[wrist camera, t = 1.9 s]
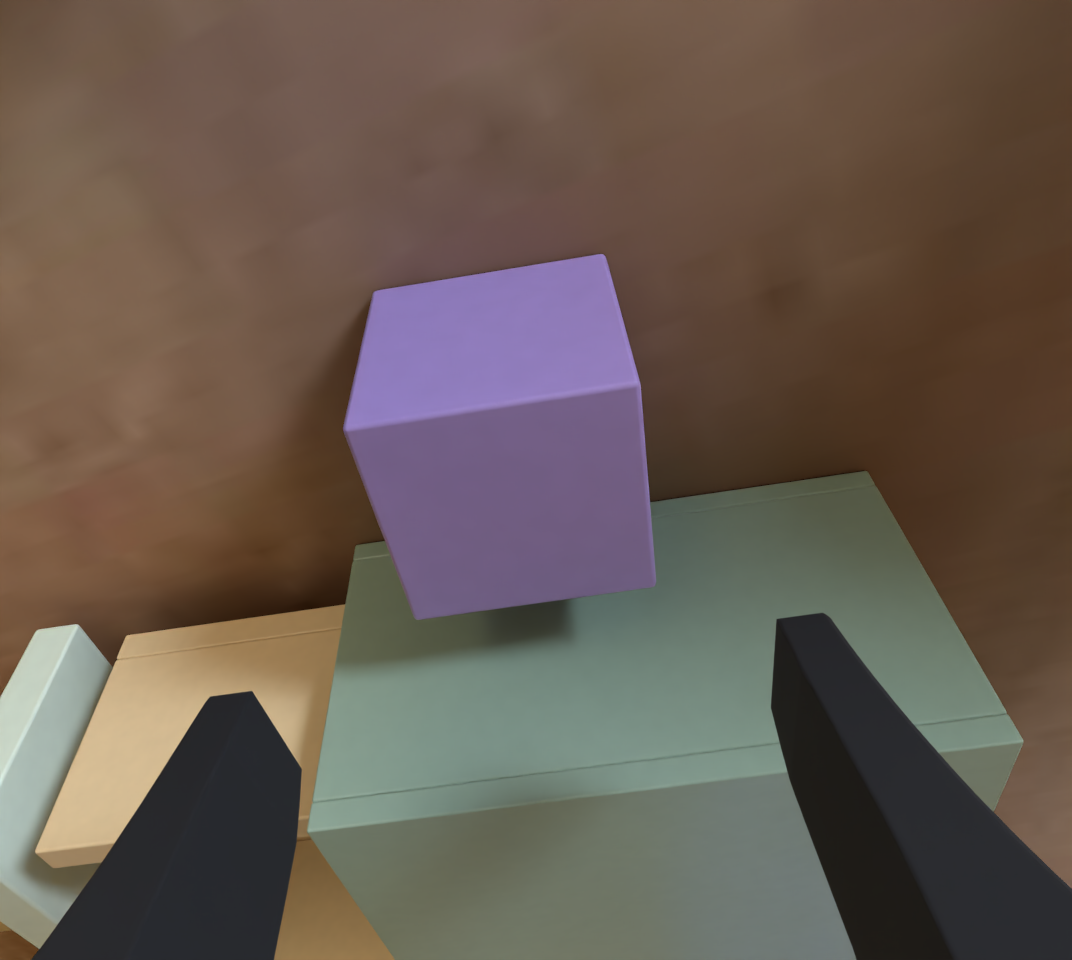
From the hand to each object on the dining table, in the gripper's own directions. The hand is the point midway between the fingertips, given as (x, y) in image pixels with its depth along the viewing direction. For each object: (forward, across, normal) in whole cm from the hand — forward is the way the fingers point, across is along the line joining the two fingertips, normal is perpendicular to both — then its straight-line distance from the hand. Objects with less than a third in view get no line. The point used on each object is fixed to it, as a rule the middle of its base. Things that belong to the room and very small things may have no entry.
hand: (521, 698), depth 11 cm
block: (+9, 0, 0) cm, 9 cm away
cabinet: (+9, -2, +11) cm, 14 cm away
